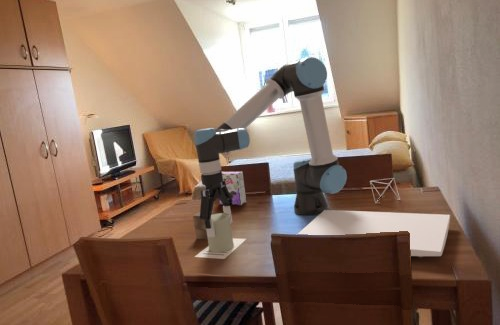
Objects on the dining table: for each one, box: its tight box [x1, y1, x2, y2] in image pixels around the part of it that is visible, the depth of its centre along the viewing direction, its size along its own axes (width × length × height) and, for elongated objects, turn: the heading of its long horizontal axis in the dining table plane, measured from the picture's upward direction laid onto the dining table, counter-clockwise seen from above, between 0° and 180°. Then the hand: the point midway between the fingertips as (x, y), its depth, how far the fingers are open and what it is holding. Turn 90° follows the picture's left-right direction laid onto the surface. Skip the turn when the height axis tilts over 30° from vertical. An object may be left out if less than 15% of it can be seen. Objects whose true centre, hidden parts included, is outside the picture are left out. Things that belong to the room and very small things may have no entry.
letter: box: [194, 237, 247, 260], centre depth 141 cm, size 12×18×1 cm, turn 156°
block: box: [192, 210, 215, 240], centre depth 154 cm, size 6×6×10 cm
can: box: [207, 212, 234, 252], centre depth 140 cm, size 9×9×12 cm
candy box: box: [218, 171, 247, 206], centre depth 201 cm, size 14×6×16 cm, turn 58°
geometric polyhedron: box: [369, 177, 401, 204], centre depth 173 cm, size 12×11×9 cm
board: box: [297, 209, 451, 258], centre depth 132 cm, size 45×32×5 cm
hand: (220, 229), depth 141 cm, fingers open, 13 cm apart
